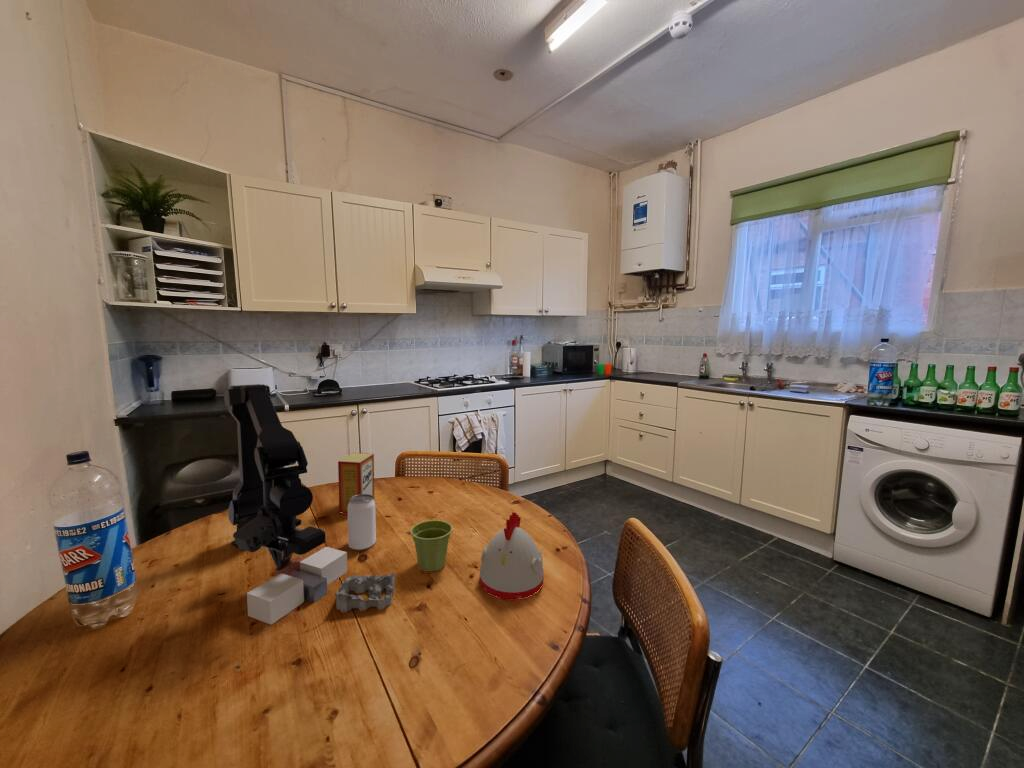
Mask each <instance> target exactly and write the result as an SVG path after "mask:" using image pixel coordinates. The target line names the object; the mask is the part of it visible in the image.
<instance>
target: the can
mask: <svg viewBox="0 0 1024 768" xmlns="http://www.w3.org/2000/svg"><path fill="white" fill-rule="evenodd" d="M376 523H377V522H376V501H375V499H374V500H373V496H372V495H369V494H360V495H355V496H353V497H351V498H350V499H349V504H348V514H347V542H348V543H347V544H348V548H349V549H351V550H354V551H363V550H367V549H370V548H372V547H373V546H374V544H375V543H376V542H377V541H376V538H377V536H376V534H377V533H376V532H377V529H376Z"/></svg>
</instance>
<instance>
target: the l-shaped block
mask: <svg viewBox="0 0 1024 768" xmlns="http://www.w3.org/2000/svg"><path fill="white" fill-rule="evenodd" d="M301 561H303V560H302V557H299V556H296V557H294V558H291V559H290V561H289V562H287V563H285V564H284V565H282V566H280V567H278V568H277V567H276V568H275V569H274V573H275V576H277V575H279V574H280V573H282V574H285V575H288V576H291V577H295V578H298V579H301V580H303V588H304V601H305V600H306V601H309V602H311V603H316V602H317V601H319V600H321V599H322V598H323V597H324V596H326V595H327V594H328V585H327V578H324V577H321V576H318V575H314V574H311V573H308V572H305V571H302V570H300V562H301ZM275 576H274V577H275Z"/></svg>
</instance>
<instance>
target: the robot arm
mask: <svg viewBox="0 0 1024 768" xmlns="http://www.w3.org/2000/svg"><path fill="white" fill-rule="evenodd" d="M223 396H224V397H223V398H224V399H223V401H224V405H225V406H227V411H228V413H230V415H231V416H232V418H233V419H234V420H235V421H236V426H237V427H236V429H237V430H236V431H237V433H236V434H237V448H238V449H237V451H238V468H239V481H238V483H237V484H236V486H235V487H234V488H233V491H232V500H230V503H229V505H228V510H227V514H228V520H229V522H230V523H231V525H232V526H236V531H235V532H234V533H233V534H232V537H233V538H234V540H232V541H231V542H230V544H231V545H234V546H236V547H238V548H239V549H240V550H244V551H247V552H249V553H255V552H257V551H259V550H260V549H261V548H262V547H263V548H266V549H267V550H268V552H269V554H270V556H271V557H272V560H273V562H274V564H275V567H276V569H277V568H278V567H280V566H282V565H284V564H285V563H287V562H289V561H291V560H292V557H293V555H294V554H297V555H299V556H301V555H306V554H307V553H309V552H311V551H312V550H314V549H316V548H318V547H320V546H322V545H323V544H325V543H326V531H324V530H323V529H321V528H317V527H314V526H311V525H309V526H307V527H305V528H303V529H302V528H299V526H301V525H302V519H300V518H297V516H300V515H303V514H304V513H305V512H307V510H308V509H310V507H311V505H312V503H313V499H314V496H313V492H312V490H311V489H310V488H309V487H307V485H305V484H304V483H302V480H301V478H300V475H302V474H306V473H307V474H308V469H307V467H308V460H307V457H306V453H305V451H304V448H303V446H302V445H301V442H300V441H299V440H297V438H296V436H295V435H294V433H293V431H291V430H289V429H287V428H286V427H283V425H282V423H281V420H280V418H279V416H278V413H277V410H276V409H275V406H274V403H273V401H272V398H271V388H270V386H269V385H268V384H259V383H258V384H242V385H241V384H240V385H239V384H238V385H230V386H229V388H228V389H226V390H225V391H224V392H223ZM296 463H297V465H296Z"/></svg>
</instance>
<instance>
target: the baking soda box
mask: <svg viewBox="0 0 1024 768" xmlns="http://www.w3.org/2000/svg"><path fill="white" fill-rule="evenodd" d="M374 457H375V455H374V453H368V452H367V453H366V452H364V453H363V452H353V453H351V454H348V455H346V456H345V457H343V458H342V459H340V460H338V461H337V466H338V467H337V469H338V470H337V471H338V472H337V473H338V507H339V509H338V510H339V512H343V513H348V504H349V499H350V498H351V497H353V496H355V495H360V494H369V495H372V496H373V500H374V501H375V458H374ZM339 512H338V513H339Z"/></svg>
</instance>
